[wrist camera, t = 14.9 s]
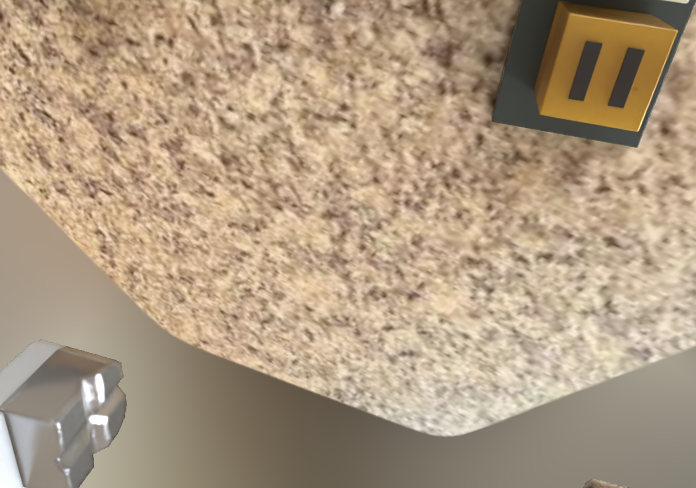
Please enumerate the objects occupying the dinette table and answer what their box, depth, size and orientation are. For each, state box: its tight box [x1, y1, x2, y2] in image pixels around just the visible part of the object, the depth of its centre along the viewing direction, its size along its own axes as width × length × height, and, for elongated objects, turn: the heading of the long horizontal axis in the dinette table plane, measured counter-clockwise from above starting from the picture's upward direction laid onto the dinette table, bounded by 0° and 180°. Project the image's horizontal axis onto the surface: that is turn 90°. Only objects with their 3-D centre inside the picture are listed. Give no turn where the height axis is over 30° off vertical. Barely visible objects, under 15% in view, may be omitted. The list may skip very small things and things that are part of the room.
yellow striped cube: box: [534, 1, 678, 132], centre depth 28 cm, size 5×5×5 cm
